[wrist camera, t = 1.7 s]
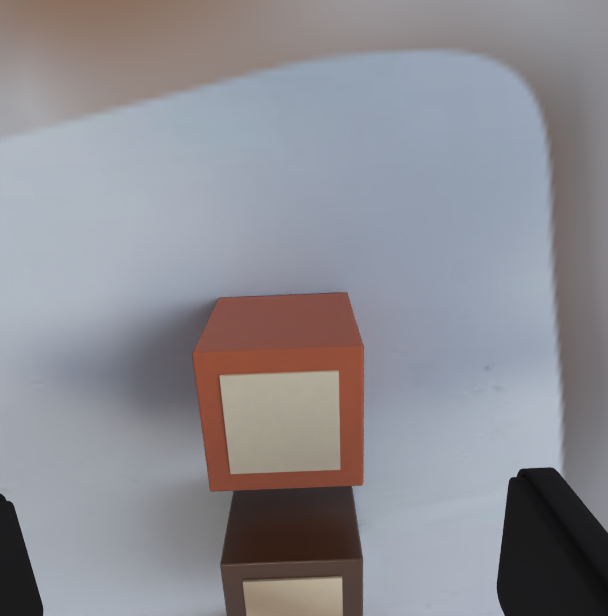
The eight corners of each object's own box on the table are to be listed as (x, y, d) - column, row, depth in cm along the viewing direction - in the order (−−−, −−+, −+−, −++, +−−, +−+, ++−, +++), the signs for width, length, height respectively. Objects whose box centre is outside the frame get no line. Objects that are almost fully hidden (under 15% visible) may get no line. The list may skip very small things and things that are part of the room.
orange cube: (218, 297, 15) (190, 354, 11) (347, 292, 15) (364, 347, 11) (230, 408, 16) (209, 494, 12) (348, 404, 16) (364, 488, 12)
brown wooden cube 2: (237, 469, 17) (219, 567, 13) (348, 465, 17) (363, 561, 13) (246, 555, 18) (232, 665, 15) (349, 550, 18) (363, 660, 15)
